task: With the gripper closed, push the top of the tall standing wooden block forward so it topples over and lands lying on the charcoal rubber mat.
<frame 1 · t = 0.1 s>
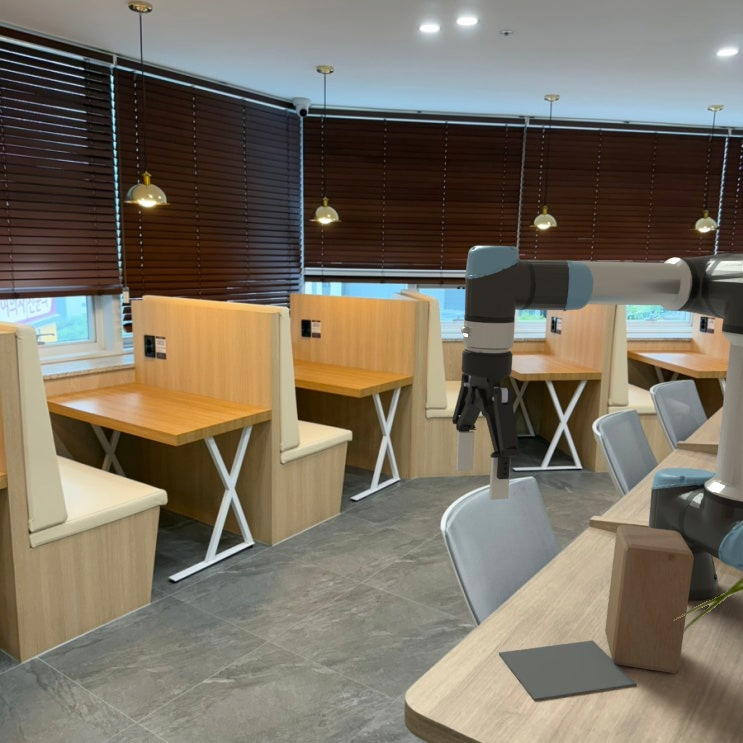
hand: (480, 483, 108), 28 cm above the table, fingers open, 13 cm apart
mat: (565, 669, 107), on the table
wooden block: (639, 655, 112), on the table, touching mat
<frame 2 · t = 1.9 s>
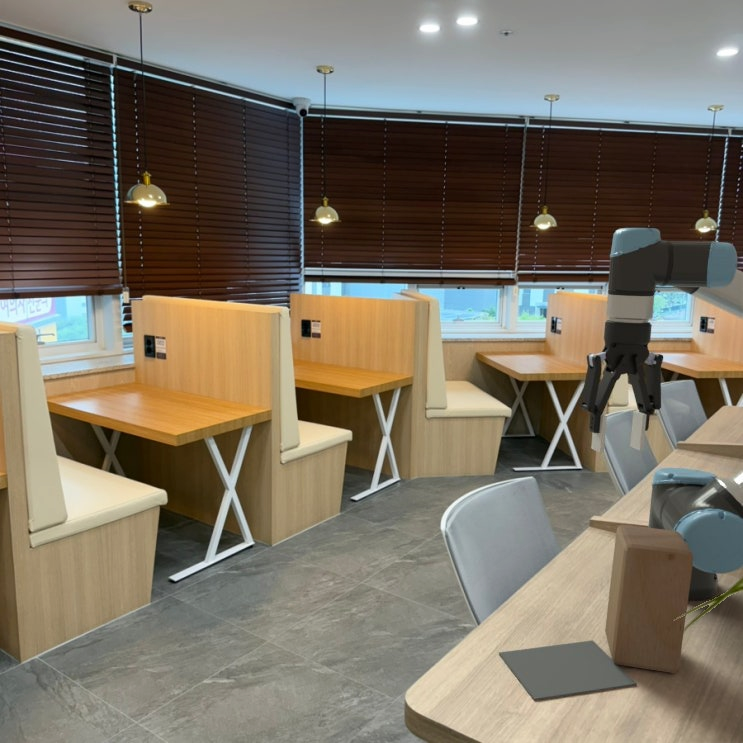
hand: (617, 449, 122), 30 cm above the table, fingers open, 7 cm apart
nothing on the table moved.
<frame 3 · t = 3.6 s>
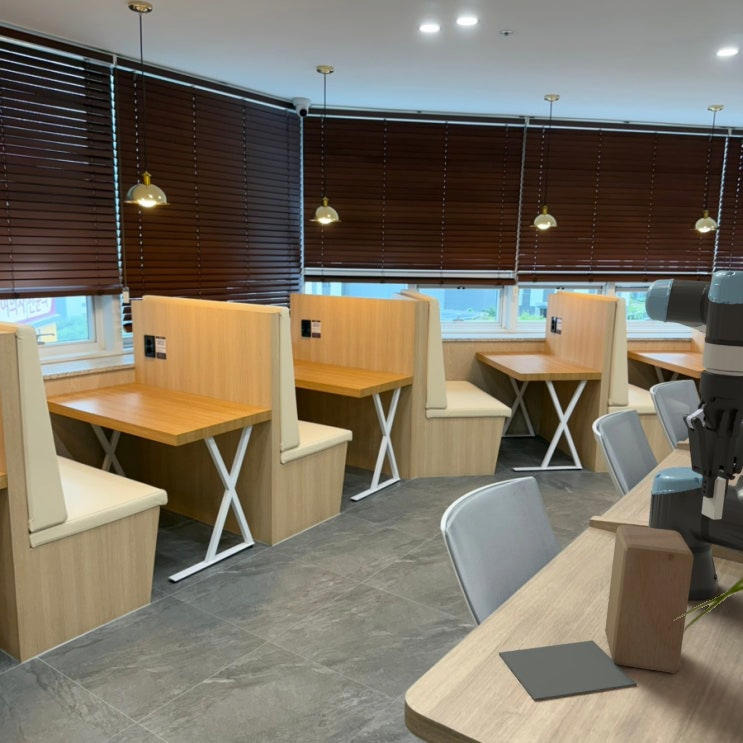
hand: (711, 516, 111), 23 cm above the table, fingers closed
nothing on the table moved.
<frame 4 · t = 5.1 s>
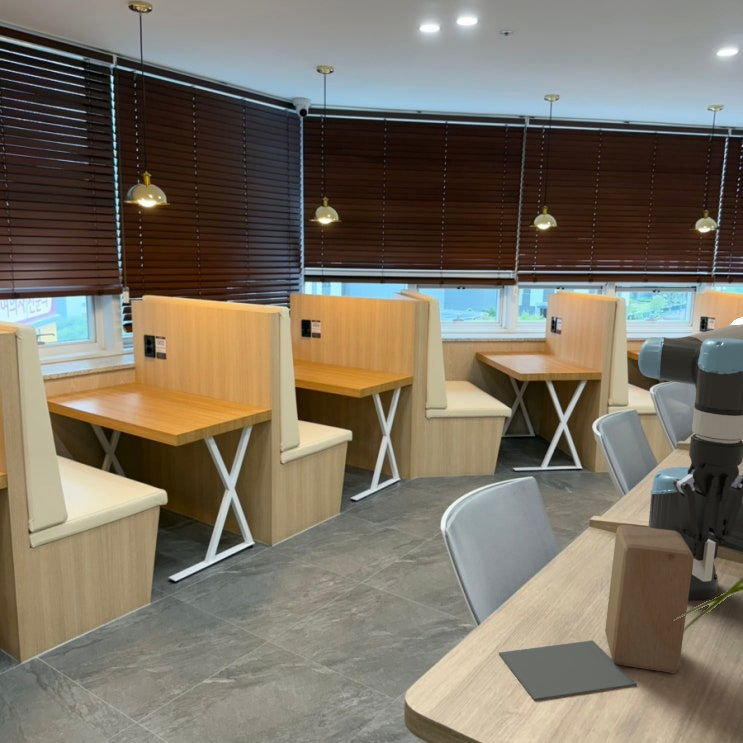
hand: (701, 577, 112), 12 cm above the table, fingers closed
nothing on the table moved.
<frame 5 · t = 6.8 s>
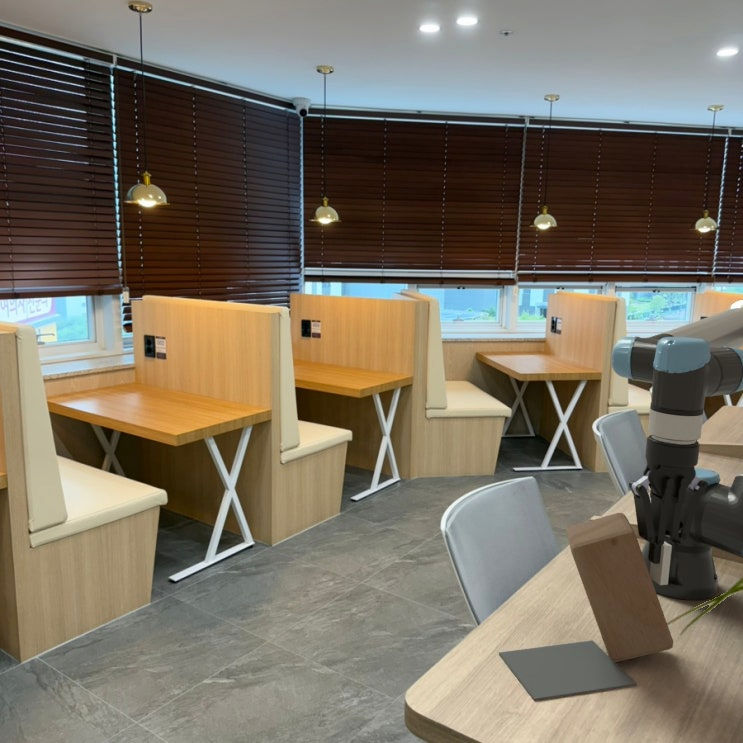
hand: (658, 580, 110), 13 cm above the table, fingers closed
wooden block: (638, 643, 112), point 2 cm above the table, touching gripper, mat
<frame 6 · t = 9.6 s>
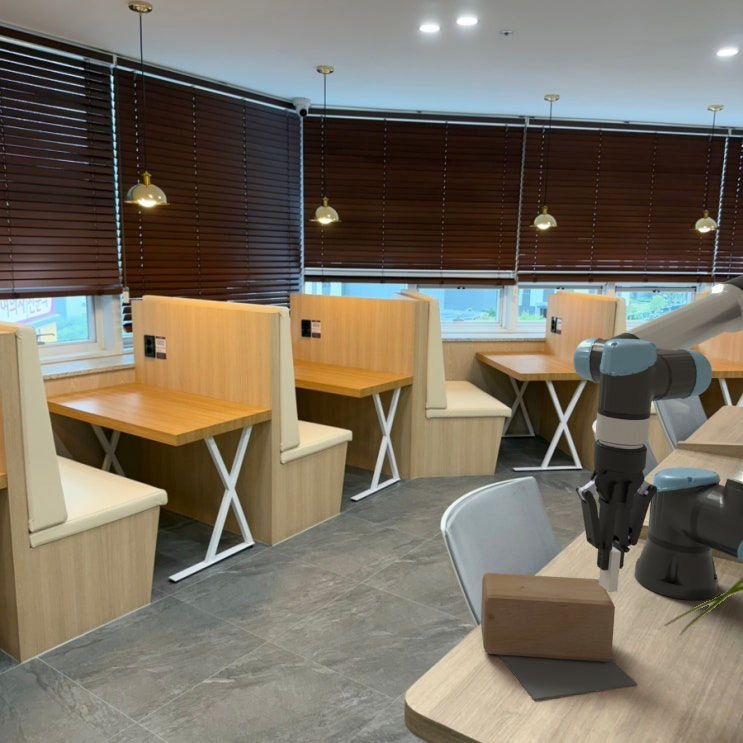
hand: (608, 587, 108), 12 cm above the table, fingers closed
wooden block: (608, 619, 112), point 5 cm above the table, touching mat
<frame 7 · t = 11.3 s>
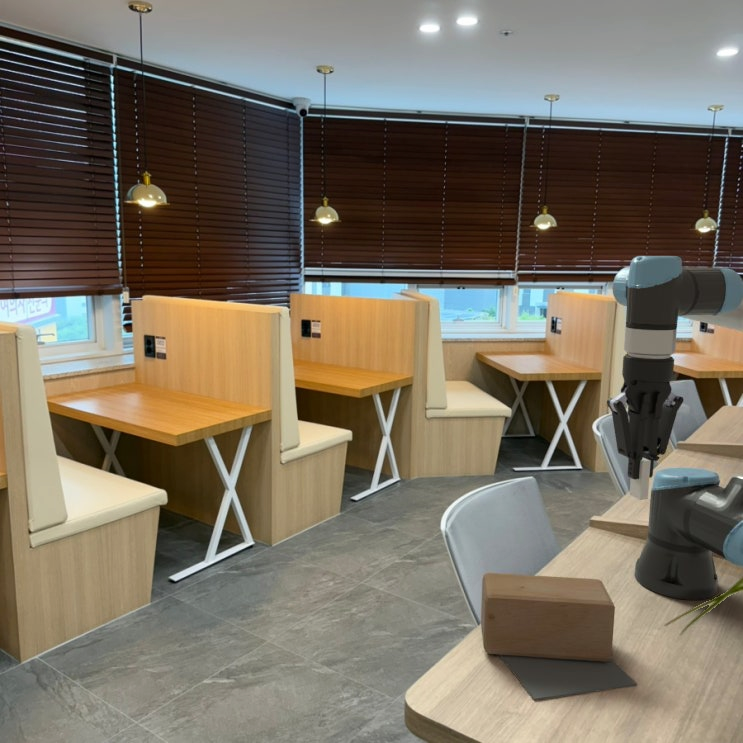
hand: (638, 496, 113), 25 cm above the table, fingers closed
nothing on the table moved.
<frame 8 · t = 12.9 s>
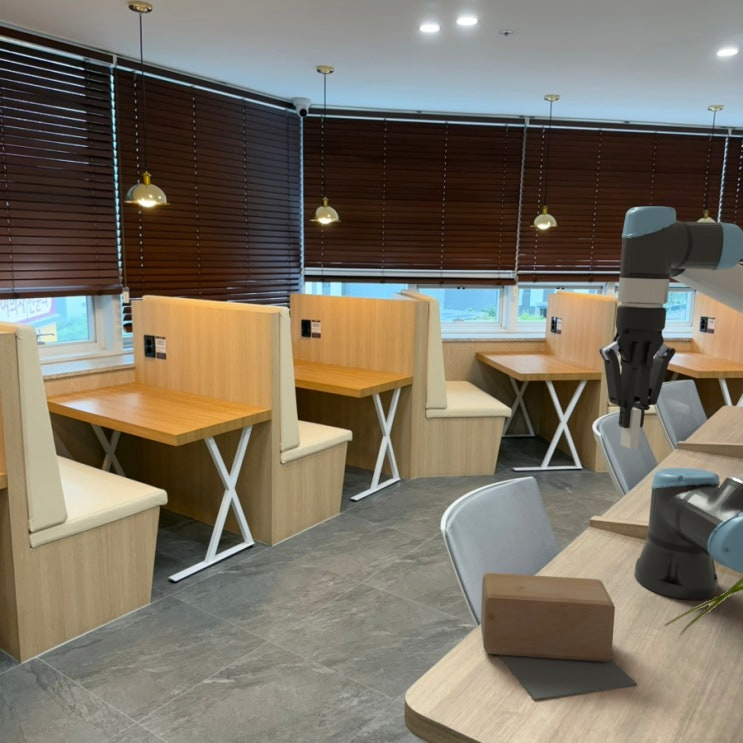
hand: (628, 446, 115), 32 cm above the table, fingers closed
nothing on the table moved.
at the end: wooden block tilted 91°; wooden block inside the target area (6.2 cm from its centre), point 5.4 cm above the table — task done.
